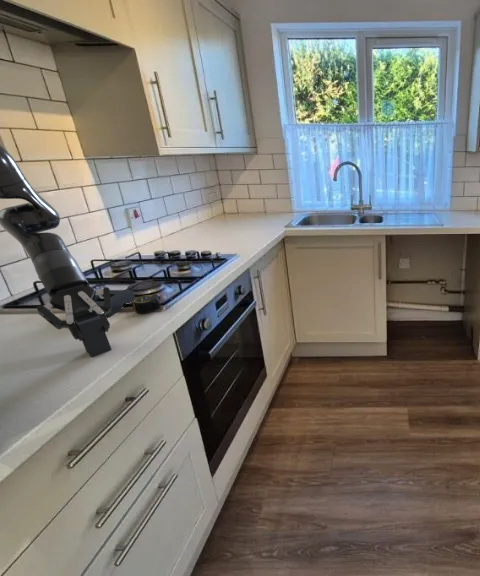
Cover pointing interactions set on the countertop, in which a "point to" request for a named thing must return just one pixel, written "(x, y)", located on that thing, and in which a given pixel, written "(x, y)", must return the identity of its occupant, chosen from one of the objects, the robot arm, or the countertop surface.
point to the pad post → (92, 333)
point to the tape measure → (146, 303)
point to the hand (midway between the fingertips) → (94, 334)
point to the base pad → (112, 301)
